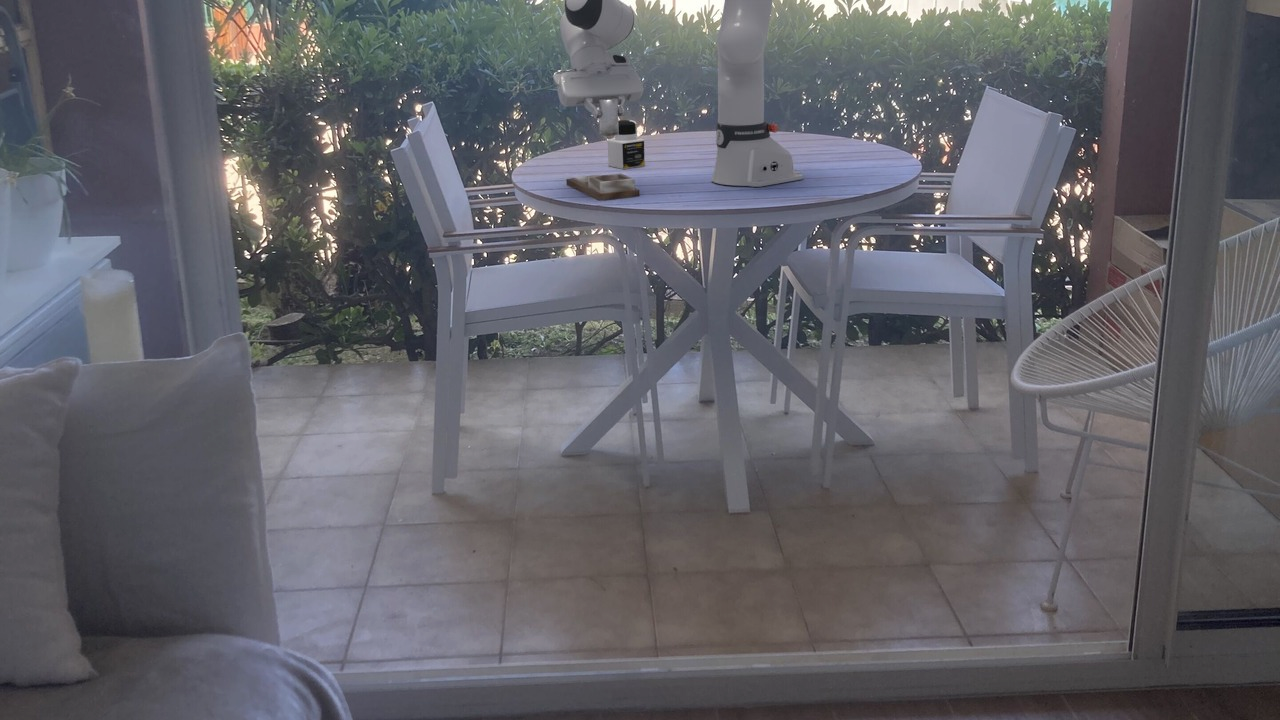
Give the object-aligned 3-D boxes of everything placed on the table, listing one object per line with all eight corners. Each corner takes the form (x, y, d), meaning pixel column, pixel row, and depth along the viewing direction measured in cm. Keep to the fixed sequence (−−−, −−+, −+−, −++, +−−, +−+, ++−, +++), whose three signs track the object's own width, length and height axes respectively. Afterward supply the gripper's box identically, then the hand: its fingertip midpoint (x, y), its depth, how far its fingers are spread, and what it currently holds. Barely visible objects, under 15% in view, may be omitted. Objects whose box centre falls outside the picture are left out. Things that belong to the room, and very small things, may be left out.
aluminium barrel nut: (614, 132, 266) (613, 97, 263) (621, 134, 262) (620, 99, 260) (596, 133, 264) (595, 98, 262) (604, 136, 261) (602, 100, 258)
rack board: (604, 180, 285) (603, 164, 283) (639, 196, 266) (639, 179, 264) (566, 184, 281) (565, 168, 280) (599, 200, 262) (599, 183, 261)
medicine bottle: (623, 169, 299) (622, 123, 295) (607, 166, 304) (606, 120, 300) (645, 166, 303) (644, 120, 298) (629, 162, 308) (628, 118, 304)
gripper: (553, 62, 260) (570, 110, 255) (635, 56, 267) (653, 103, 262) (547, 80, 265) (564, 127, 260) (628, 74, 273) (645, 120, 268)
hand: (609, 115), depth 261 cm, fingers closed on aluminium barrel nut, 4 cm apart
